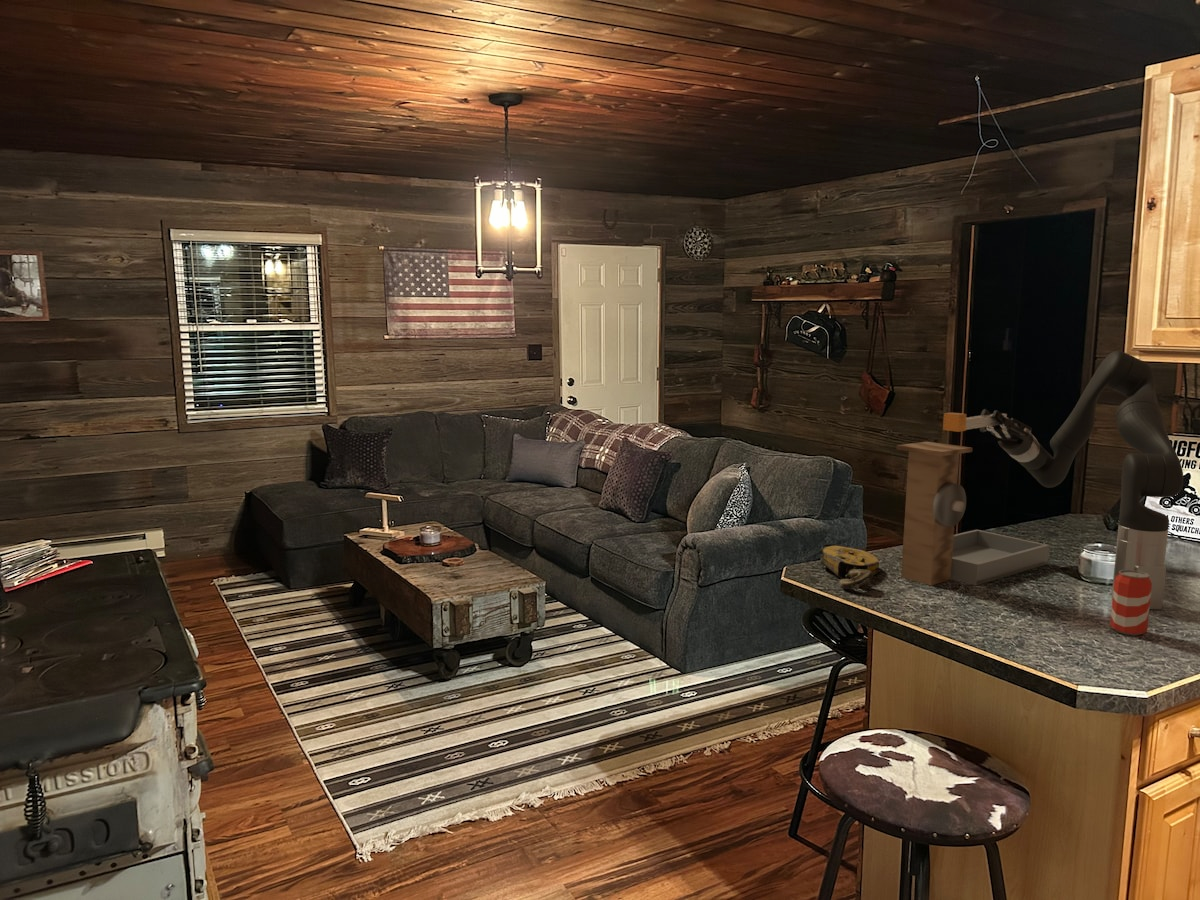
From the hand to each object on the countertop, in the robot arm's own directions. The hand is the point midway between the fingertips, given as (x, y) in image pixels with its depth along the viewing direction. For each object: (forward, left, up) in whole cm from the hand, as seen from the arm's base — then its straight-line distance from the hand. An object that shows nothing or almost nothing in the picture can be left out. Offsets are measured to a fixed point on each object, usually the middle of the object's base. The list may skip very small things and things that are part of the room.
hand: (989, 413), depth 218 cm
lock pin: (-3, +4, -3) cm, 6 cm away
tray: (-1, +1, -39) cm, 39 cm away
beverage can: (-48, -10, -39) cm, 63 cm away
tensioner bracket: (-13, +18, -39) cm, 44 cm away
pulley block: (-11, +35, -39) cm, 54 cm away
